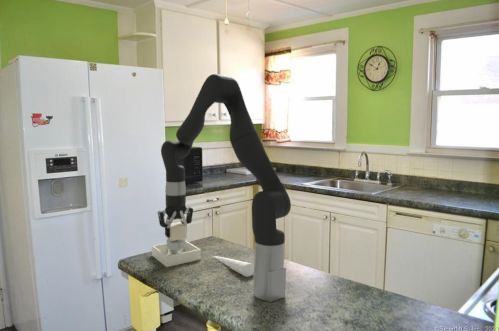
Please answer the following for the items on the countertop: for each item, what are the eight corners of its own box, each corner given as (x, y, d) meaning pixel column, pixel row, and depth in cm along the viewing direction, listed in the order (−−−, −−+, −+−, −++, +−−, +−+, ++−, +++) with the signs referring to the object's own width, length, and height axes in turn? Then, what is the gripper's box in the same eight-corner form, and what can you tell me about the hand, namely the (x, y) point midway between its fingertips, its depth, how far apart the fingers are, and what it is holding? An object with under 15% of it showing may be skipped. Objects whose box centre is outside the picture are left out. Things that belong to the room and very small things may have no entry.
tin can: (188, 258, 150) (188, 240, 149) (171, 262, 146) (171, 243, 145) (180, 253, 156) (180, 236, 155) (164, 256, 152) (163, 239, 151)
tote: (200, 260, 149) (200, 249, 149) (166, 268, 141) (166, 256, 141) (184, 250, 161) (184, 239, 160) (152, 257, 153) (151, 245, 152)
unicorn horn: (220, 255, 156) (220, 244, 155) (255, 276, 137) (255, 262, 136) (209, 258, 153) (210, 246, 153) (243, 279, 134) (244, 265, 133)
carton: (186, 238, 149) (186, 225, 149) (172, 240, 146) (171, 228, 145) (179, 234, 154) (179, 222, 153) (165, 236, 151) (165, 224, 150)
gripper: (161, 196, 141) (162, 241, 143) (197, 192, 149) (197, 235, 151) (153, 193, 147) (154, 236, 149) (188, 189, 155) (188, 230, 157)
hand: (176, 235), depth 150 cm, fingers closed on carton, 5 cm apart
